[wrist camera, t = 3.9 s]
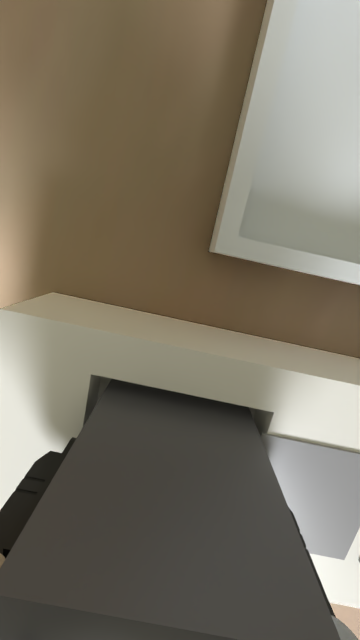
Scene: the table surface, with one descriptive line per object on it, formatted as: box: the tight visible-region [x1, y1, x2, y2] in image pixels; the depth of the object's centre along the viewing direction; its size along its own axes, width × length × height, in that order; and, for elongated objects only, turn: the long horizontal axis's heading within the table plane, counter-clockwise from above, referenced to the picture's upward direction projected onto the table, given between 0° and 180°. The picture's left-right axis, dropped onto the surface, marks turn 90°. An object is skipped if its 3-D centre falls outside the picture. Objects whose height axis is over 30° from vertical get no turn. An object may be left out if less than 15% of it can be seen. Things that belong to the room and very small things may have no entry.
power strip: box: [0, 292, 360, 608], centre depth 11 cm, size 20×9×4 cm, turn 78°
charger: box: [0, 379, 341, 640], centre depth 8 cm, size 5×7×7 cm
